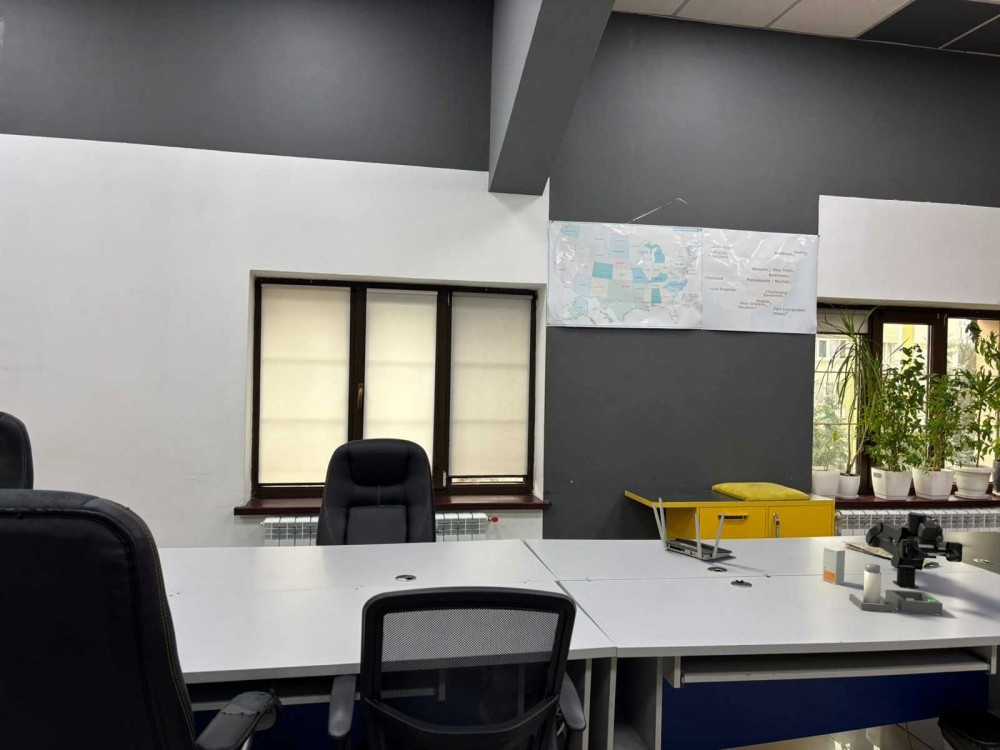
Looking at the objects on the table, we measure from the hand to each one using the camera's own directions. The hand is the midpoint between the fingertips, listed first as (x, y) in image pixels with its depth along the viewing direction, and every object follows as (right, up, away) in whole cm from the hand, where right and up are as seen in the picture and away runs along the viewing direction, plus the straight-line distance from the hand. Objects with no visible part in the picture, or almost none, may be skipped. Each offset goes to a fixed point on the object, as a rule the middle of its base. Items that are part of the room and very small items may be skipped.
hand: (943, 557), depth 230 cm
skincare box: (-23, -16, +27) cm, 39 cm away
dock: (-9, -16, 0) cm, 19 cm away
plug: (-22, -16, +1) cm, 28 cm away
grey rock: (+49, -18, +95) cm, 108 cm away
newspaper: (+18, -17, +67) cm, 72 cm away
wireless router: (-64, -14, +61) cm, 90 cm away
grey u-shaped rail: (-22, -16, +1) cm, 28 cm away
